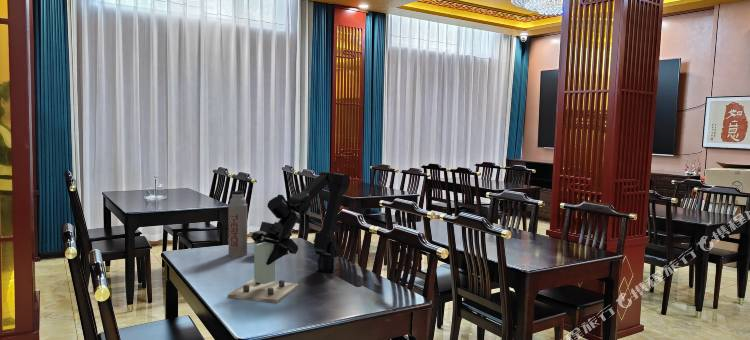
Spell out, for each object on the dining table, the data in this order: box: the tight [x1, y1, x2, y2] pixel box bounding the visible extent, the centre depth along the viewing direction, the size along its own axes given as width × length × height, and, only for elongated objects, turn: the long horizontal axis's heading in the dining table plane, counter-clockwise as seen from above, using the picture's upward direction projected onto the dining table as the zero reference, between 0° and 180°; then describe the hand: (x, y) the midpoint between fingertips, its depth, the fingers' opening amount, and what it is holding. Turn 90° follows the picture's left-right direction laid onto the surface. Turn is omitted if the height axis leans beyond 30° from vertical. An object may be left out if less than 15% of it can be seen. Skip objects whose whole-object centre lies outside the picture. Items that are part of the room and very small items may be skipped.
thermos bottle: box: [227, 190, 248, 258], centre depth 231 cm, size 8×8×28 cm
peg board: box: [227, 278, 299, 304], centre depth 183 cm, size 18×18×3 cm
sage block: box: [253, 242, 276, 284], centre depth 182 cm, size 5×5×13 cm
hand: (261, 262), depth 181 cm, fingers closed on sage block, 5 cm apart
